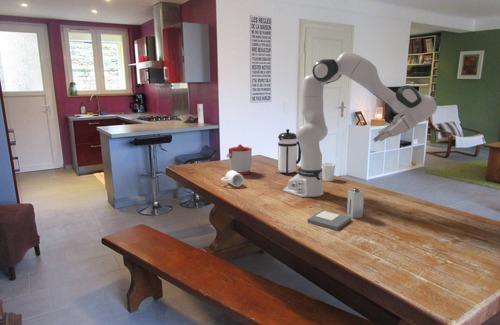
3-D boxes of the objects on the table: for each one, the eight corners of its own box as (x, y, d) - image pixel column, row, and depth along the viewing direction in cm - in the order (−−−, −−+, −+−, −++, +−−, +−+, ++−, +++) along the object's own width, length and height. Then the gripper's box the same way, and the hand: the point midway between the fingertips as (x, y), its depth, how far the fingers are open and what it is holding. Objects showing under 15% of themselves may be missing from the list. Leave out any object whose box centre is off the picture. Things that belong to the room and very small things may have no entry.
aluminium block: (346, 214, 160) (348, 188, 157) (356, 213, 161) (358, 187, 159) (352, 218, 156) (353, 191, 153) (362, 217, 157) (364, 190, 154)
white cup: (325, 182, 213) (325, 166, 210) (319, 178, 220) (319, 163, 218) (336, 181, 215) (337, 165, 212) (330, 177, 222) (331, 162, 220)
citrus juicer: (223, 171, 240) (223, 143, 235) (247, 169, 246) (247, 141, 241) (230, 177, 225) (230, 147, 221) (255, 174, 231) (255, 145, 227)
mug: (237, 181, 215) (237, 169, 213) (244, 186, 206) (243, 173, 204) (219, 184, 210) (218, 171, 208) (225, 188, 201) (224, 175, 200)
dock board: (307, 222, 152) (307, 218, 151) (322, 213, 162) (322, 209, 162) (336, 230, 143) (337, 226, 143) (351, 220, 153) (351, 216, 153)
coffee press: (299, 176, 226) (300, 130, 220) (274, 175, 229) (275, 130, 223) (300, 169, 243) (301, 127, 236) (278, 169, 246) (278, 127, 239)
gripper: (391, 119, 166) (367, 135, 167) (406, 114, 146) (378, 133, 147) (399, 130, 166) (374, 146, 167) (415, 126, 145) (387, 145, 147)
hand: (376, 140), depth 157 cm, fingers open, 8 cm apart
